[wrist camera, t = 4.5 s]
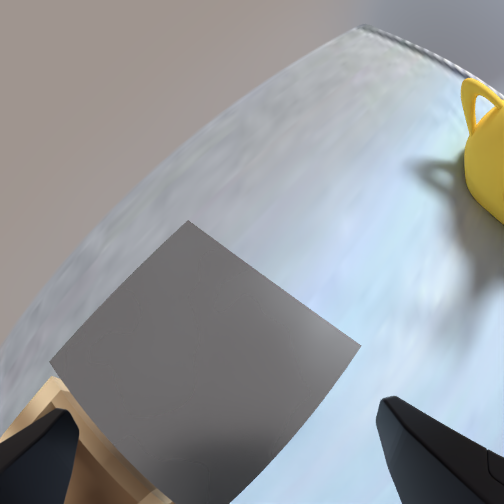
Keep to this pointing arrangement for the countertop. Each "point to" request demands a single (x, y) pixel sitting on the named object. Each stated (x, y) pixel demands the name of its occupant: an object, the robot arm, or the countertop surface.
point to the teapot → (484, 149)
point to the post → (201, 368)
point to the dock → (90, 455)
